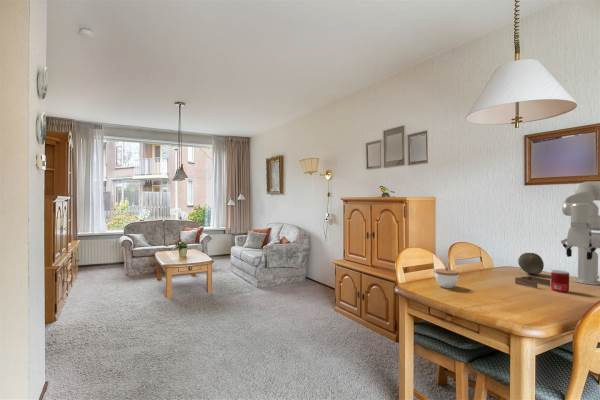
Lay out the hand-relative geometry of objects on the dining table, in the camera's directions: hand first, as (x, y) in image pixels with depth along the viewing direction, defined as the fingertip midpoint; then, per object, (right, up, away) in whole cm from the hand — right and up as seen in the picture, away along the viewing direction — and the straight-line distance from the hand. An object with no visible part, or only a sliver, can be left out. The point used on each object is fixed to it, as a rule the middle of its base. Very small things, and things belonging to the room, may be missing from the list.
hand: (578, 257), depth 179 cm
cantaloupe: (+8, -20, +49) cm, 54 cm away
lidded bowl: (-66, -19, +14) cm, 70 cm away
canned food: (-4, -20, +8) cm, 22 cm away
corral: (-10, -20, +21) cm, 30 cm away
